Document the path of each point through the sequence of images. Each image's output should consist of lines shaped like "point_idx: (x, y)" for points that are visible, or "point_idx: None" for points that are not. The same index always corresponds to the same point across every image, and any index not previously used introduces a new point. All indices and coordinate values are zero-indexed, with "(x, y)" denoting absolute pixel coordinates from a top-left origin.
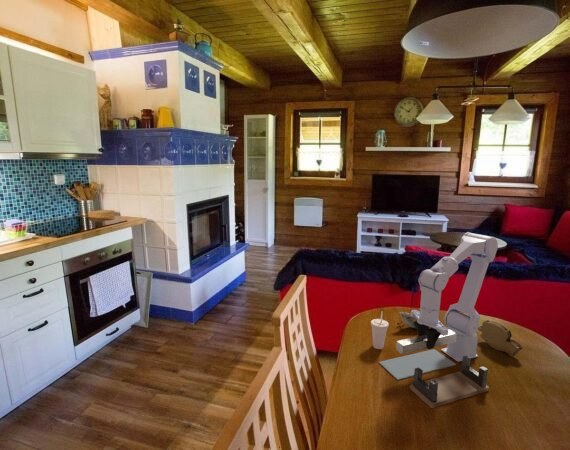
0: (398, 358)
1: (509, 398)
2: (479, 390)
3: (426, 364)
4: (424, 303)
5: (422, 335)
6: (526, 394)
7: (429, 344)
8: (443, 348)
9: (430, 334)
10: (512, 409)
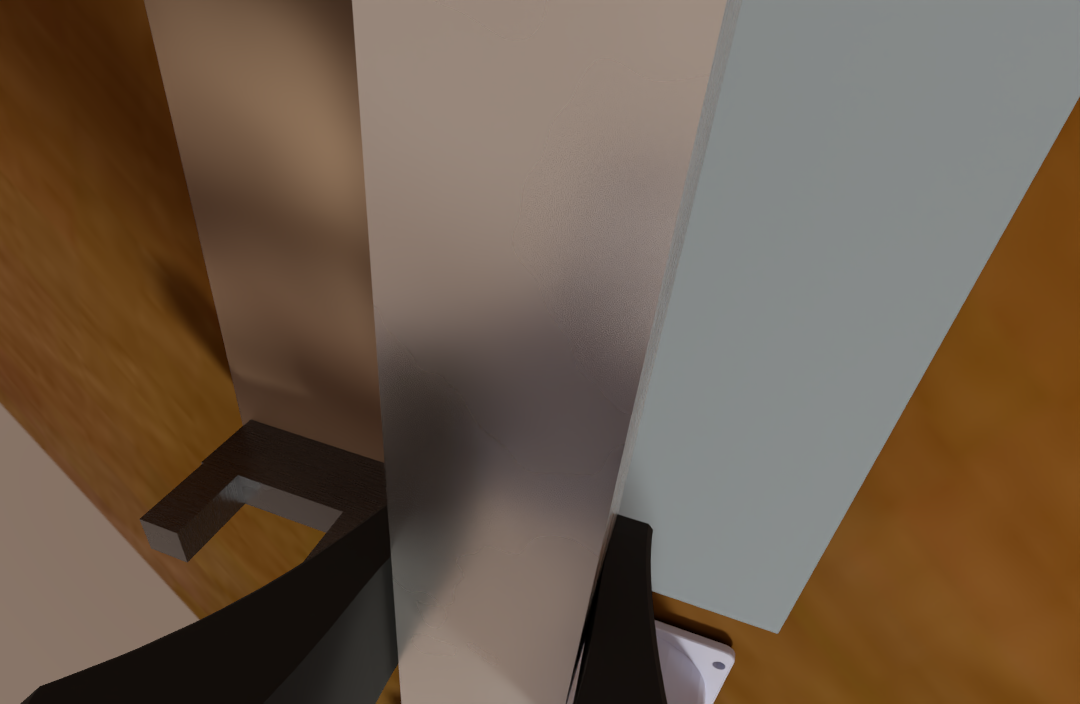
0: (965, 247)
1: (198, 452)
2: (238, 385)
3: (658, 395)
4: None
5: (569, 668)
6: (216, 533)
7: (376, 516)
8: (726, 671)
9: (33, 697)
10: (123, 379)
